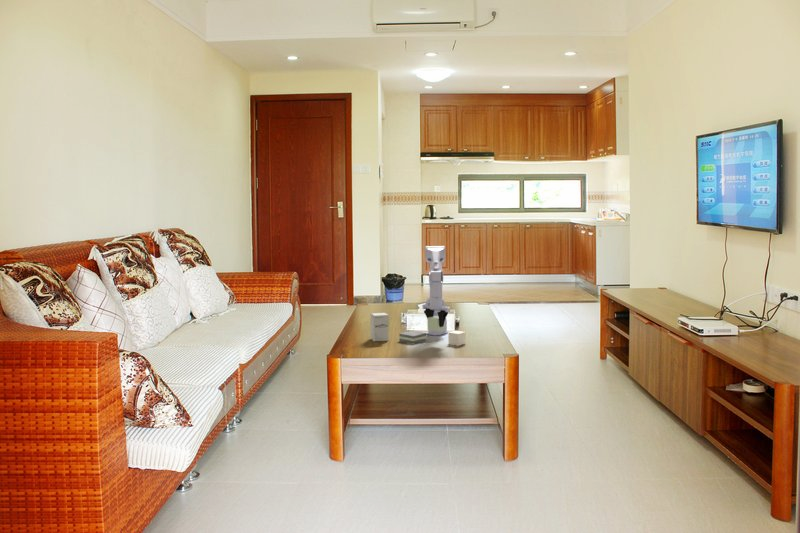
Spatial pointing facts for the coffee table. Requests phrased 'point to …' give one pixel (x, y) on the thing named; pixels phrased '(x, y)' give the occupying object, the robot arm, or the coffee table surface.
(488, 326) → the coffee table surface
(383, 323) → the supplement box
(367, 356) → the coffee table surface
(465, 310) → the coffee table surface
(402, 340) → the grey striped square box
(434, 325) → the sage block
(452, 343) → the cream block
